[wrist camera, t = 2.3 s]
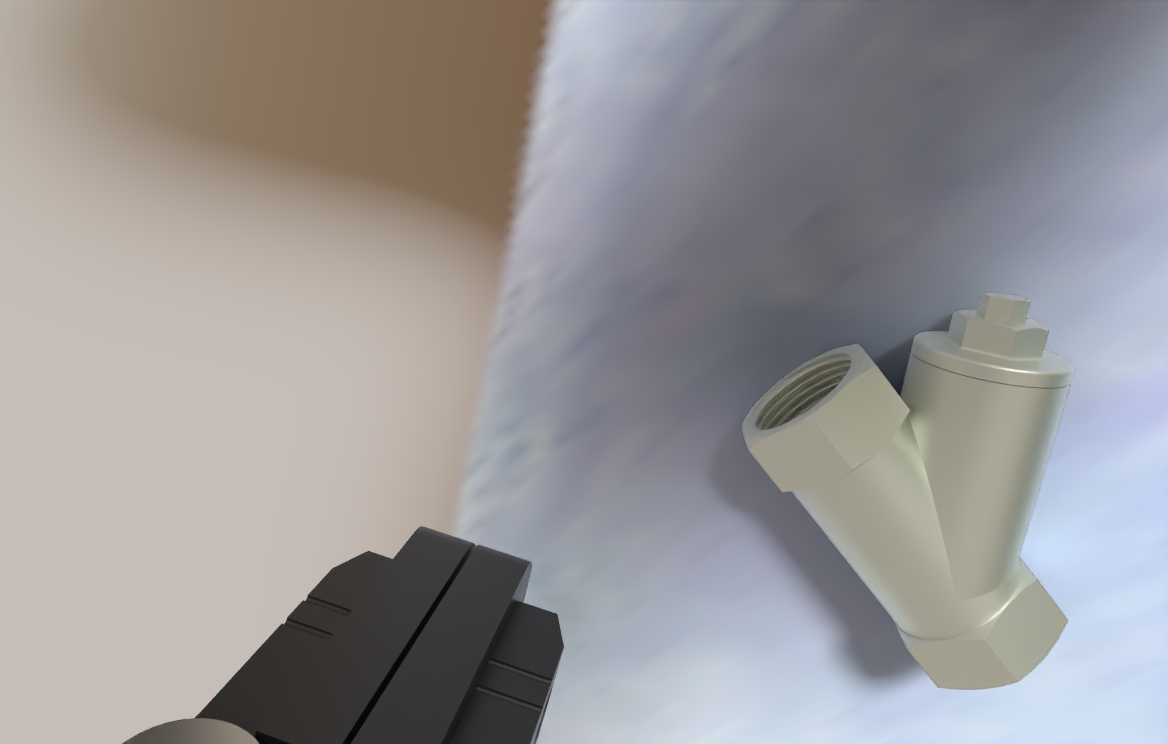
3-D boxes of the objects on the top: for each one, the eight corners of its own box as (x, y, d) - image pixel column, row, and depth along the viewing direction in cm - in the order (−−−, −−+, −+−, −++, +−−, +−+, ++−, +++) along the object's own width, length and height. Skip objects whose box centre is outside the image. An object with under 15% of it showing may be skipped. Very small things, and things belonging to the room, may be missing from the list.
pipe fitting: (967, 247, 18) (737, 404, 20) (1034, 271, 15) (747, 462, 17) (1143, 493, 20) (909, 621, 21) (1247, 574, 16) (953, 720, 18)
